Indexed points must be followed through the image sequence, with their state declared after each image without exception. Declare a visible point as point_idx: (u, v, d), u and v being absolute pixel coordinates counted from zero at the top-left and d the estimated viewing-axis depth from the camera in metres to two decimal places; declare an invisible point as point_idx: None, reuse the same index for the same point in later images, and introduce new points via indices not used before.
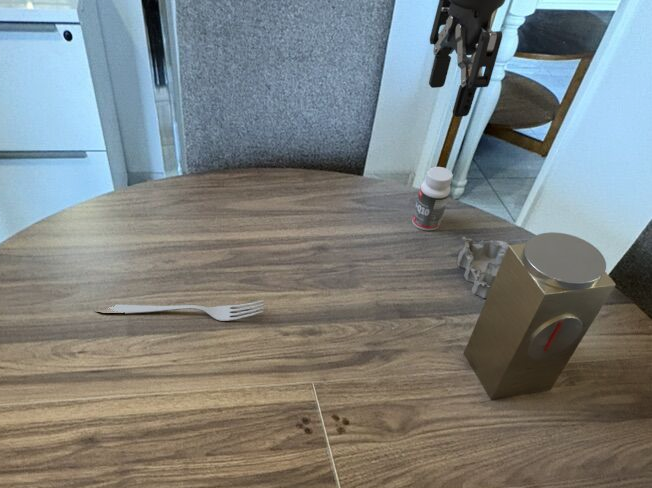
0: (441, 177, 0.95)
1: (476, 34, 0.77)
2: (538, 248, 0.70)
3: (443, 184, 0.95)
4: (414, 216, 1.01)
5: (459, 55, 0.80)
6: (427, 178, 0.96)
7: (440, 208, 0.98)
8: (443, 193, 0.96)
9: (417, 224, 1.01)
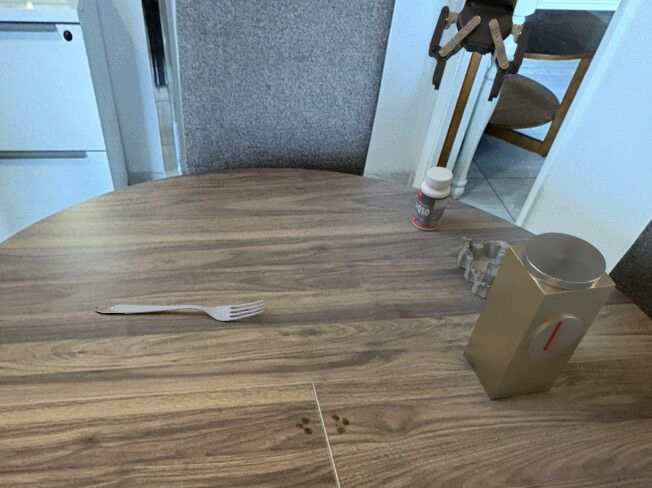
0: (441, 177, 0.95)
1: None
2: (538, 248, 0.70)
3: (443, 184, 0.95)
4: (414, 216, 1.01)
5: None
6: (427, 178, 0.96)
7: (440, 208, 0.98)
8: (443, 193, 0.96)
9: (417, 224, 1.01)
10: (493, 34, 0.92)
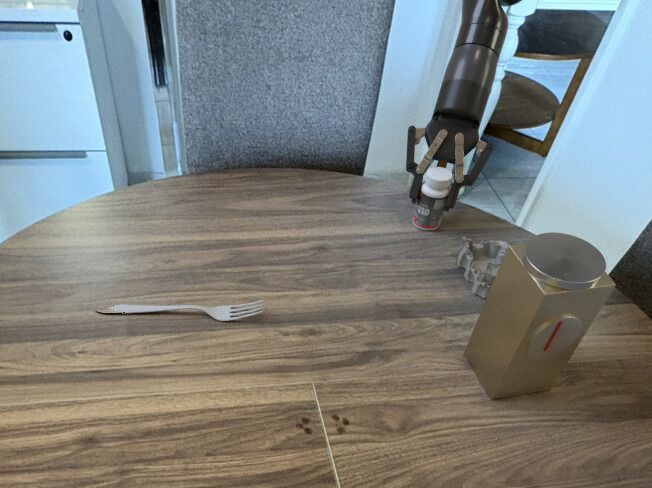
0: (441, 177, 0.95)
1: None
2: (538, 248, 0.70)
3: (443, 184, 0.95)
4: (414, 216, 1.01)
5: None
6: (427, 178, 0.96)
7: (440, 208, 0.98)
8: (443, 193, 0.96)
9: (417, 224, 1.01)
10: (456, 146, 0.94)
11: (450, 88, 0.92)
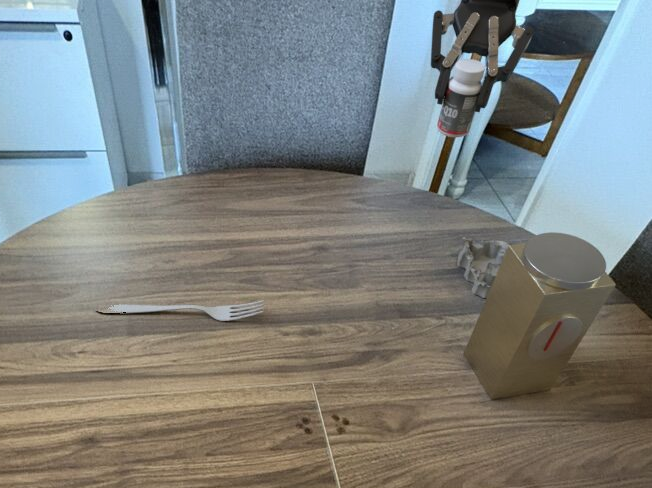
0: (472, 69, 0.83)
1: None
2: (538, 248, 0.70)
3: (474, 76, 0.83)
4: (440, 121, 0.89)
5: None
6: (456, 71, 0.83)
7: (471, 108, 0.86)
8: (474, 88, 0.84)
9: (443, 130, 0.89)
10: (490, 32, 0.82)
11: None
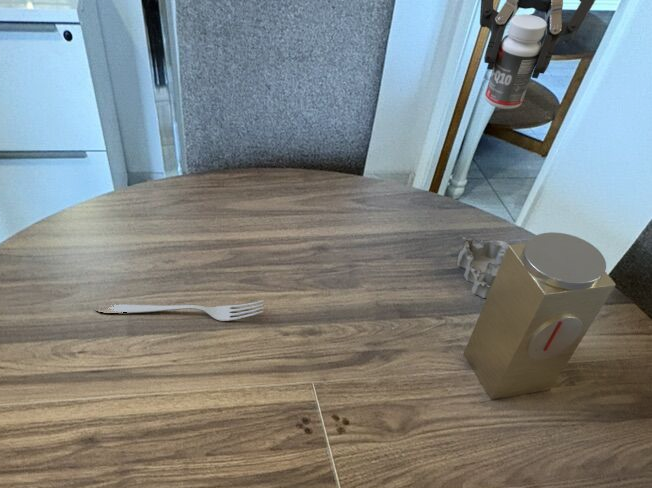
0: (532, 25, 0.70)
1: None
2: (538, 248, 0.70)
3: (534, 34, 0.70)
4: (489, 89, 0.76)
5: None
6: (511, 28, 0.71)
7: (527, 73, 0.73)
8: (533, 49, 0.71)
9: (493, 100, 0.76)
10: None
11: None
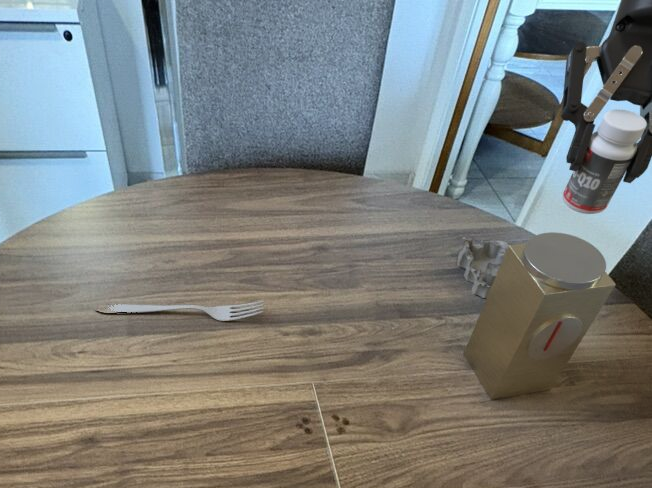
0: (630, 125, 0.58)
1: None
2: (538, 248, 0.70)
3: (633, 136, 0.58)
4: (569, 192, 0.64)
5: None
6: (604, 128, 0.59)
7: (618, 177, 0.61)
8: (629, 152, 0.59)
9: (574, 204, 0.64)
10: None
11: None
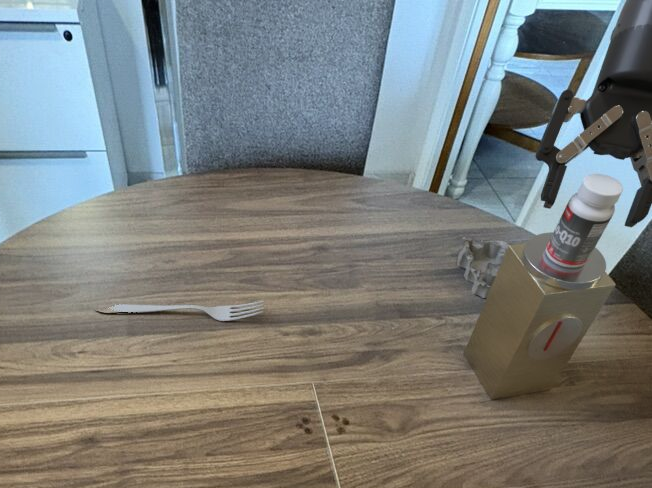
0: (607, 190, 0.62)
1: None
2: (538, 248, 0.70)
3: (610, 200, 0.62)
4: (552, 247, 0.68)
5: None
6: (583, 191, 0.63)
7: (597, 236, 0.65)
8: (607, 214, 0.63)
9: (556, 258, 0.68)
10: (641, 132, 0.61)
11: (634, 40, 0.58)
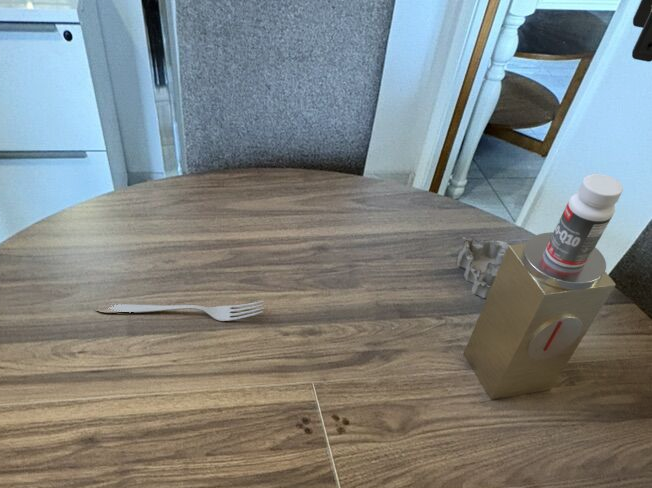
0: (607, 190, 0.62)
1: None
2: (538, 248, 0.70)
3: (610, 200, 0.62)
4: (552, 247, 0.68)
5: None
6: (583, 191, 0.63)
7: (597, 236, 0.65)
8: (607, 214, 0.63)
9: (556, 258, 0.68)
10: None
11: None
